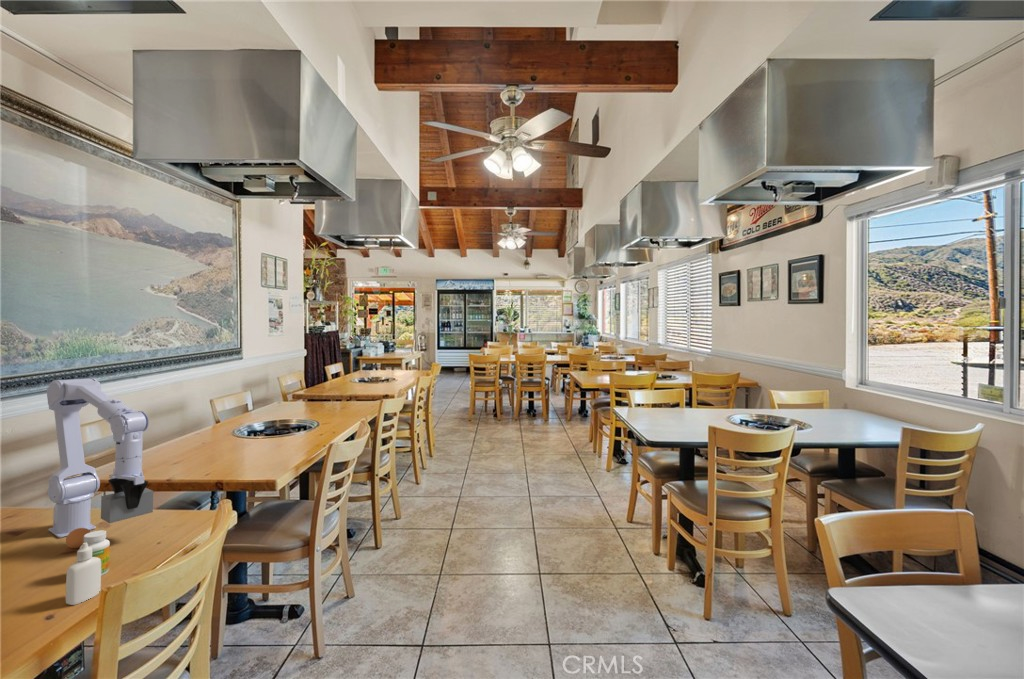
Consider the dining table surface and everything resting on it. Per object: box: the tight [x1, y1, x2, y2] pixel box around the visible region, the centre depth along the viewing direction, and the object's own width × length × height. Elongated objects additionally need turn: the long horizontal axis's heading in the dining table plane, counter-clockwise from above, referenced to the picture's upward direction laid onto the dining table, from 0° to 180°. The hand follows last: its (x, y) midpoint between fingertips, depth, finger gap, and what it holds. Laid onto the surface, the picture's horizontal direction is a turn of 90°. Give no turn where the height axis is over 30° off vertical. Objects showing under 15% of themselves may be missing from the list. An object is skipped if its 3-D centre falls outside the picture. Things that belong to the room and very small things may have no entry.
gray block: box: [100, 487, 154, 524], centre depth 125 cm, size 6×10×6 cm, turn 149°
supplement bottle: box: [79, 530, 111, 577], centre depth 108 cm, size 5×5×10 cm
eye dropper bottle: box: [65, 542, 102, 606], centre depth 98 cm, size 4×6×12 cm
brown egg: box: [65, 528, 91, 549], centre depth 121 cm, size 5×5×5 cm
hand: (127, 505), depth 125 cm, fingers closed on gray block, 6 cm apart
